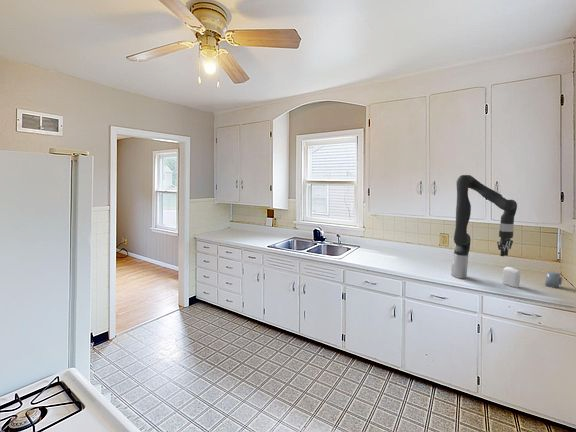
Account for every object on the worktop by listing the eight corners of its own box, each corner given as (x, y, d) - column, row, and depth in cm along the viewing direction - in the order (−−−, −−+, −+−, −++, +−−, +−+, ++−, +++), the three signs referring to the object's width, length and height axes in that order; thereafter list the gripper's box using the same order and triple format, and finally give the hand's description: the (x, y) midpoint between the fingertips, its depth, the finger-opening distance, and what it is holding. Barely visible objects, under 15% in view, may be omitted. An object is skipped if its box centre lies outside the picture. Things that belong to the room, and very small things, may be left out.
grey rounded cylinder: (545, 286, 203) (547, 273, 202) (544, 283, 209) (545, 271, 208) (561, 289, 198) (563, 276, 197) (559, 285, 204) (561, 273, 203)
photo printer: (501, 283, 210) (502, 266, 209) (505, 282, 211) (507, 265, 210) (515, 288, 200) (517, 270, 199) (520, 287, 201) (522, 269, 200)
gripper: (506, 228, 203) (504, 253, 205) (493, 230, 197) (491, 255, 199) (519, 230, 196) (516, 256, 198) (506, 232, 190) (503, 258, 192)
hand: (504, 255), depth 199 cm, fingers open, 3 cm apart
